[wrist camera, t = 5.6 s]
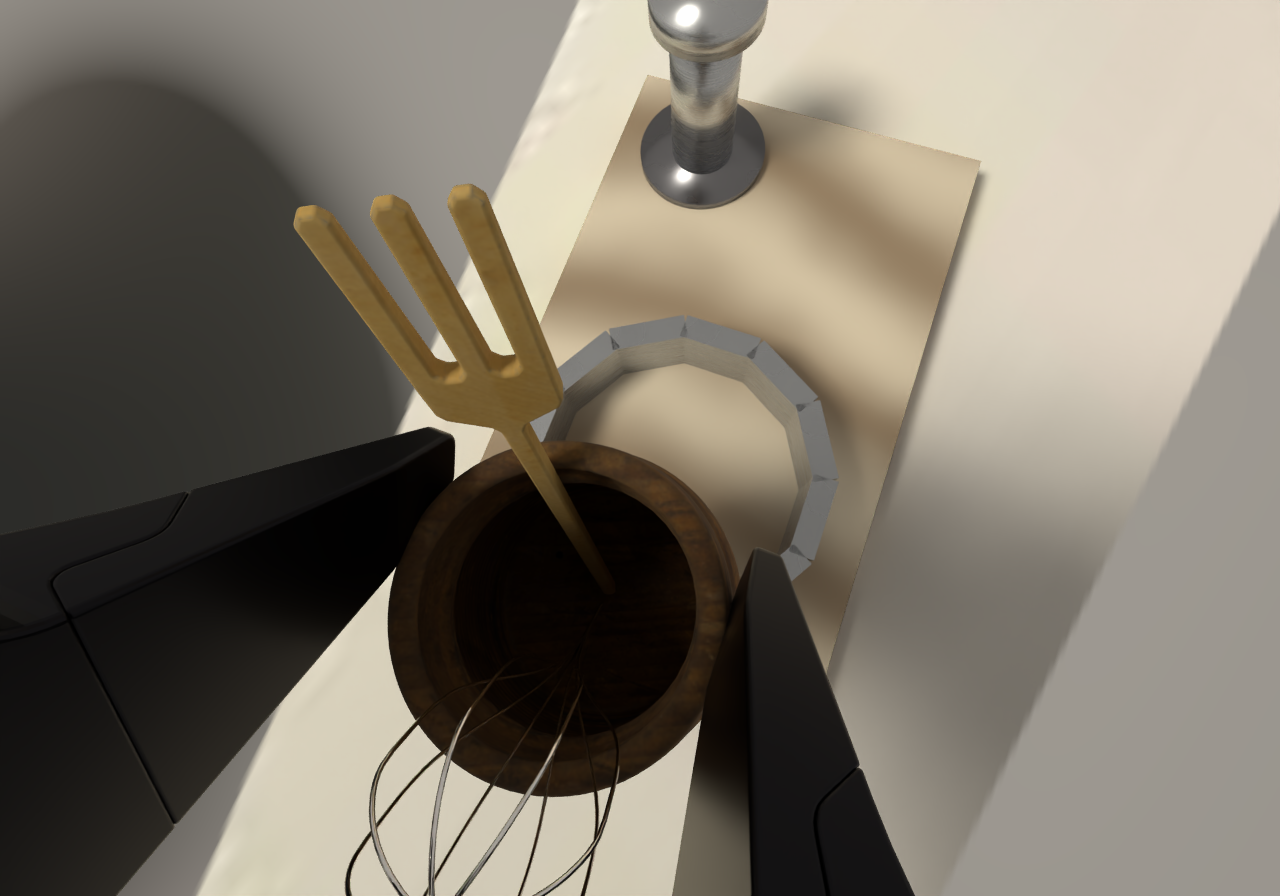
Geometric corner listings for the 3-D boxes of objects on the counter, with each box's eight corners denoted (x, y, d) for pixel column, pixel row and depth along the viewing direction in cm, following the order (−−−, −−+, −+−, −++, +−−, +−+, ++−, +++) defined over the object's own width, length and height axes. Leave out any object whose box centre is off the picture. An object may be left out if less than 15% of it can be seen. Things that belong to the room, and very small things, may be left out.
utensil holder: (504, 734, 15) (-120, 1248, 3) (492, 481, 17) (16, 242, 5) (744, 712, 15) (953, 1202, 3) (712, 457, 16) (774, 137, 5)
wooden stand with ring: (809, 698, 22) (887, 770, 13) (452, 556, 24) (323, 539, 15) (967, 180, 25) (1105, -19, 17) (649, 96, 27) (633, -119, 19)
